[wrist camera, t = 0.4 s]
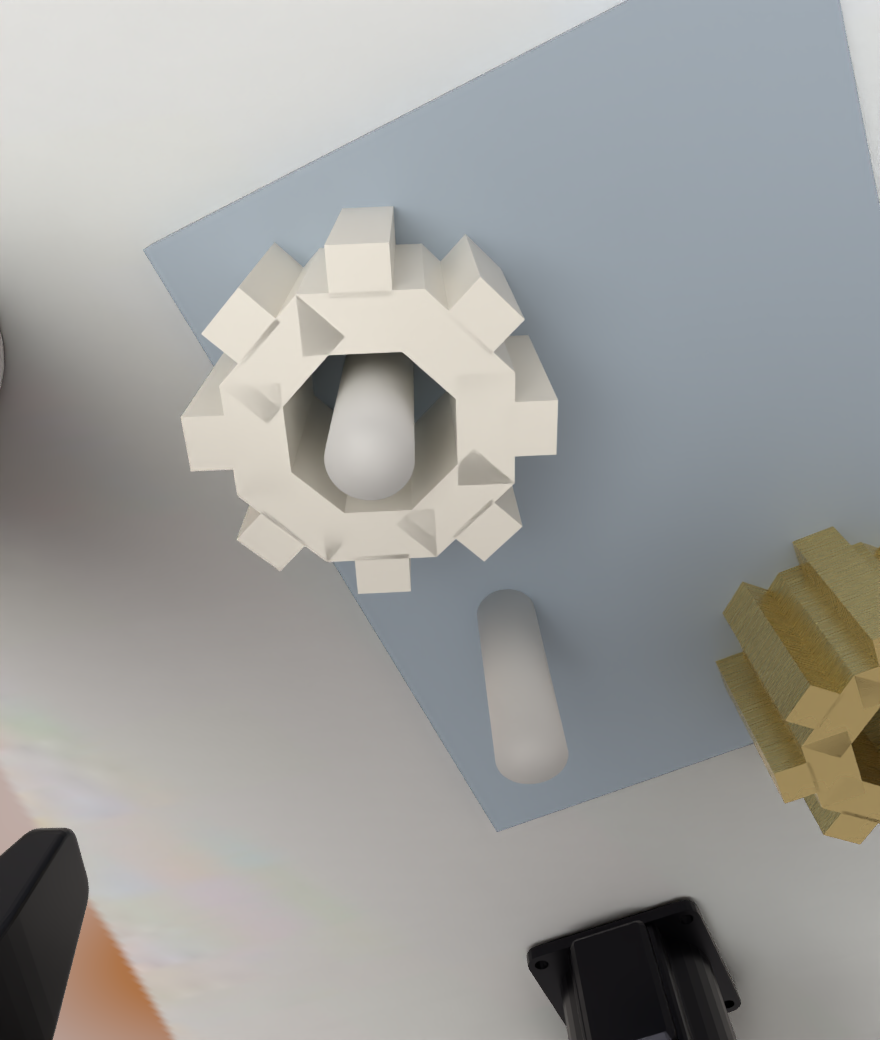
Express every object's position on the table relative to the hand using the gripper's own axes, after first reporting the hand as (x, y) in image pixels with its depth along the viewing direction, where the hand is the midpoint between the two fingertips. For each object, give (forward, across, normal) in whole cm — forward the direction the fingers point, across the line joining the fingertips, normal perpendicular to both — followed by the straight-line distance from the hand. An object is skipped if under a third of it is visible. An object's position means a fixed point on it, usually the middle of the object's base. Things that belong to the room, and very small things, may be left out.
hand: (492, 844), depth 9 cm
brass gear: (+13, -11, +6) cm, 18 cm away
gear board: (+14, -4, +2) cm, 14 cm away
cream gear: (+13, +2, -2) cm, 13 cm away
